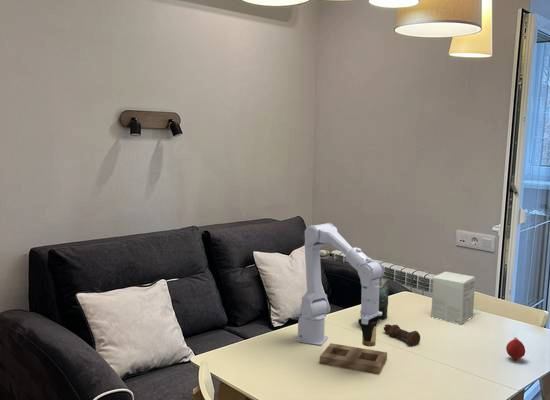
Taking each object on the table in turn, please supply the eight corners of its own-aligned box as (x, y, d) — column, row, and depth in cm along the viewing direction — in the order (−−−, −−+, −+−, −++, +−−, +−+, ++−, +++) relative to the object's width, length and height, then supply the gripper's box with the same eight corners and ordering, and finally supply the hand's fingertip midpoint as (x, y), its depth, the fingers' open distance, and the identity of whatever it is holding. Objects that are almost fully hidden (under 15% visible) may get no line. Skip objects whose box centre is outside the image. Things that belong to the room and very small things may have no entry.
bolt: (387, 336, 202) (416, 349, 189) (379, 332, 199) (408, 344, 186) (393, 322, 203) (422, 334, 190) (384, 318, 200) (414, 329, 187)
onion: (523, 357, 178) (524, 335, 177) (525, 364, 173) (527, 341, 172) (504, 355, 180) (506, 333, 179) (506, 362, 175) (507, 339, 174)
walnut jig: (319, 363, 173) (319, 356, 173) (330, 349, 184) (330, 343, 184) (379, 374, 166) (379, 366, 165) (387, 359, 177) (387, 352, 176)
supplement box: (474, 316, 219) (476, 276, 217) (461, 325, 209) (463, 282, 207) (443, 309, 228) (445, 270, 225) (430, 317, 218) (432, 276, 216)
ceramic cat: (378, 314, 221) (380, 268, 218) (393, 318, 217) (394, 271, 215) (357, 328, 205) (358, 279, 202) (372, 332, 201) (373, 282, 199)
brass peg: (360, 345, 171) (360, 327, 170) (364, 340, 175) (364, 323, 174) (373, 347, 169) (374, 329, 169) (377, 342, 173) (377, 325, 172)
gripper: (377, 306, 162) (376, 348, 164) (386, 293, 175) (385, 332, 177) (355, 303, 165) (354, 344, 167) (366, 291, 178) (365, 329, 180)
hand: (369, 338), depth 172 cm, fingers closed on brass peg, 4 cm apart
